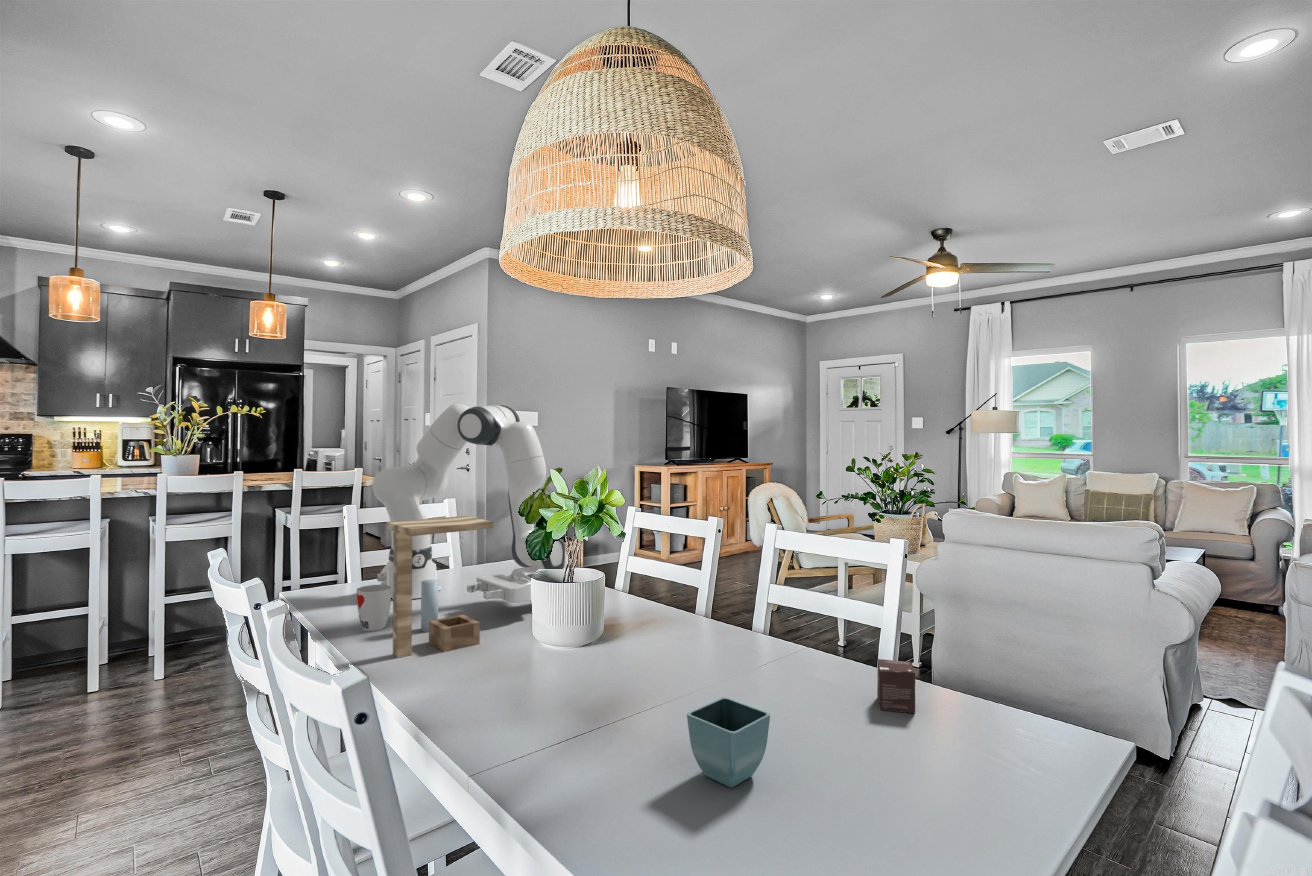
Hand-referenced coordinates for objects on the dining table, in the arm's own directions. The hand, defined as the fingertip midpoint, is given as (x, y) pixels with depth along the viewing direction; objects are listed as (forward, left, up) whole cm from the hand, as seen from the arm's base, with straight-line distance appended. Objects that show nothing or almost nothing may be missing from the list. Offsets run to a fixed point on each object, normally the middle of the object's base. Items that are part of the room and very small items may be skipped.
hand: (476, 592), depth 168 cm
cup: (-10, -22, -7) cm, 26 cm away
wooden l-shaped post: (+14, -16, -7) cm, 22 cm away
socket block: (+14, -12, -7) cm, 20 cm away
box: (+99, +33, -8) cm, 104 cm away
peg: (0, -12, -7) cm, 14 cm away
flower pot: (+95, -8, -8) cm, 95 cm away
